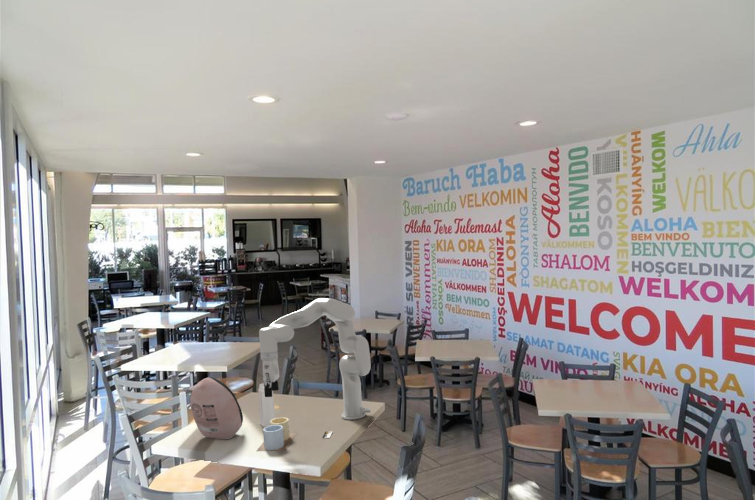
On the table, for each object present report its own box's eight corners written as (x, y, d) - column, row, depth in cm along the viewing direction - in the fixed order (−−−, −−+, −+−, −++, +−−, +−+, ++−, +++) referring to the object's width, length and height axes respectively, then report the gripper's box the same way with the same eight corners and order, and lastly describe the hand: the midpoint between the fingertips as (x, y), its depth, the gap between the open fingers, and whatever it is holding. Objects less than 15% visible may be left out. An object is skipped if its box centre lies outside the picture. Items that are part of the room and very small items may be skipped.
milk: (275, 426, 255) (272, 383, 255) (263, 429, 252) (261, 385, 252) (271, 423, 260) (269, 380, 260) (259, 426, 257) (257, 382, 257)
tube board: (332, 431, 243) (332, 429, 243) (323, 452, 219) (322, 449, 219) (272, 433, 246) (272, 431, 246) (256, 453, 222) (256, 451, 222)
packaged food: (249, 432, 249) (245, 371, 248) (222, 448, 231) (218, 382, 231) (214, 428, 258) (211, 369, 257) (185, 443, 240) (181, 380, 239)
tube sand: (291, 434, 240) (290, 417, 240) (286, 440, 232) (285, 423, 232) (274, 434, 241) (273, 417, 241) (268, 441, 232) (267, 423, 232)
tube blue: (285, 442, 230) (284, 424, 230) (280, 449, 222) (279, 431, 222) (267, 442, 231) (266, 425, 231) (261, 450, 222) (260, 432, 222)
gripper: (271, 359, 218) (274, 399, 218) (282, 350, 235) (285, 387, 236) (254, 360, 219) (257, 399, 219) (266, 351, 236) (269, 388, 236)
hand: (271, 393), depth 227 cm, fingers open, 9 cm apart
